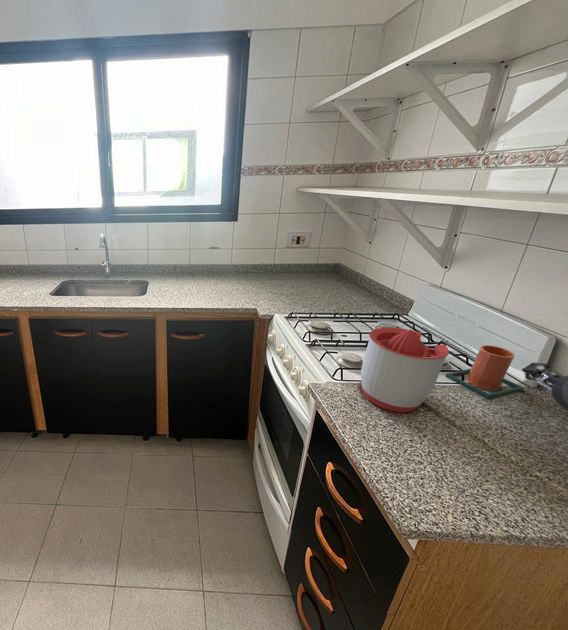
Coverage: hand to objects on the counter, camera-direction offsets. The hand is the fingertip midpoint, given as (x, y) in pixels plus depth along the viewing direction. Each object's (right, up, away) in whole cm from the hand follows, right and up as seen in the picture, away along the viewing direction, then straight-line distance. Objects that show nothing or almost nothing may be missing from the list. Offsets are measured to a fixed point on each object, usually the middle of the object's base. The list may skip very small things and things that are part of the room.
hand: (548, 389), depth 79 cm
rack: (-2, -2, +14) cm, 14 cm away
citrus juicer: (-29, -5, +10) cm, 31 cm away
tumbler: (-3, -2, +13) cm, 14 cm away
